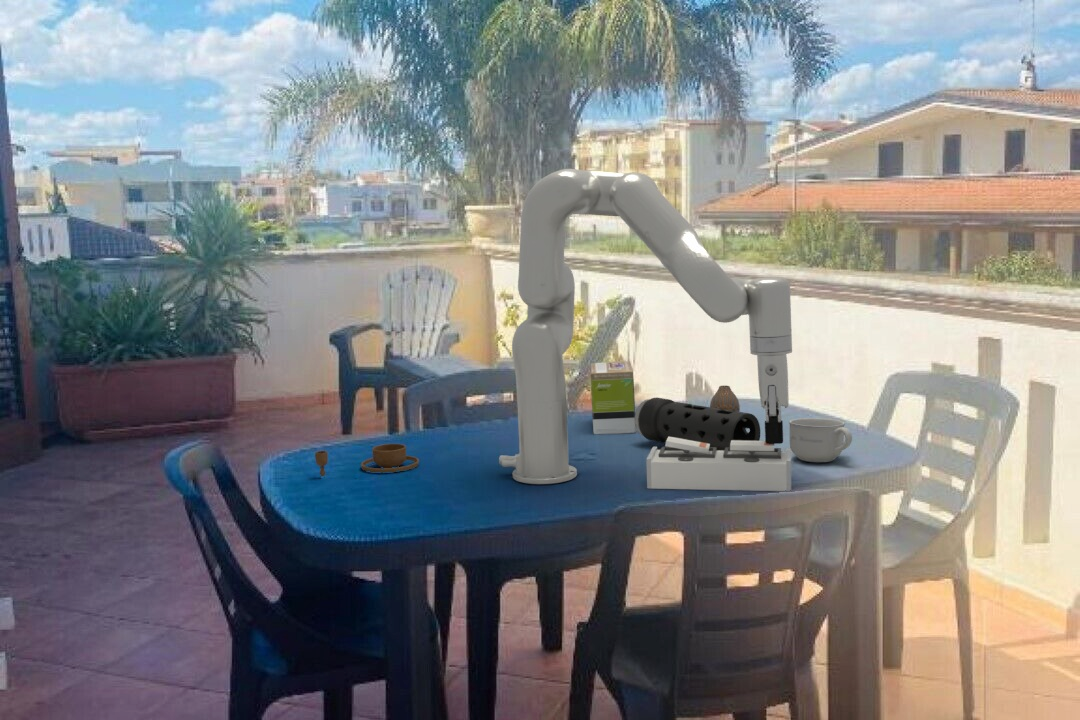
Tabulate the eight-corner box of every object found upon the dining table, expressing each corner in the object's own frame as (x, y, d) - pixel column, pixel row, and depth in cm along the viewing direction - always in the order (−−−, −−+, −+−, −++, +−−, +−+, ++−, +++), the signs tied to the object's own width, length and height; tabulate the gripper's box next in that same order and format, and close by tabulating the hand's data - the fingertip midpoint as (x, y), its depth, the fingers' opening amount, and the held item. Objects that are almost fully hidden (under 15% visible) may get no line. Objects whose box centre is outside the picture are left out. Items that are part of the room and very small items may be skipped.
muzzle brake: (731, 467, 214) (730, 415, 212) (632, 446, 235) (630, 399, 234) (762, 458, 220) (761, 408, 218) (662, 438, 241) (661, 393, 240)
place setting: (413, 479, 216) (411, 450, 215) (314, 483, 216) (312, 454, 215) (423, 459, 233) (422, 432, 232) (331, 462, 233) (329, 436, 233)
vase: (740, 419, 257) (740, 383, 256) (739, 426, 250) (738, 388, 249) (711, 419, 259) (710, 383, 257) (709, 425, 252) (708, 388, 251)
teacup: (778, 457, 219) (778, 419, 218) (823, 451, 223) (822, 413, 222) (820, 472, 206) (820, 431, 205) (866, 465, 210) (866, 424, 209)
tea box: (591, 421, 262) (589, 361, 260) (633, 420, 262) (631, 360, 260) (592, 435, 247) (590, 371, 245) (636, 433, 247) (634, 370, 245)
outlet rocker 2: (730, 454, 200) (730, 444, 200) (731, 449, 204) (731, 439, 204) (774, 454, 199) (774, 445, 198) (774, 449, 203) (774, 440, 202)
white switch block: (647, 488, 200) (646, 459, 199) (653, 474, 209) (652, 446, 209) (791, 491, 194) (790, 460, 193) (791, 477, 204) (790, 448, 203)
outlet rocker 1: (664, 449, 203) (666, 440, 203) (667, 444, 207) (668, 435, 207) (707, 457, 202) (708, 448, 201) (708, 452, 205) (710, 443, 205)
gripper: (792, 349, 190) (795, 451, 192) (791, 338, 204) (794, 433, 207) (748, 351, 191) (752, 452, 194) (751, 340, 206) (755, 434, 208)
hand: (774, 442), depth 200 cm, fingers closed
